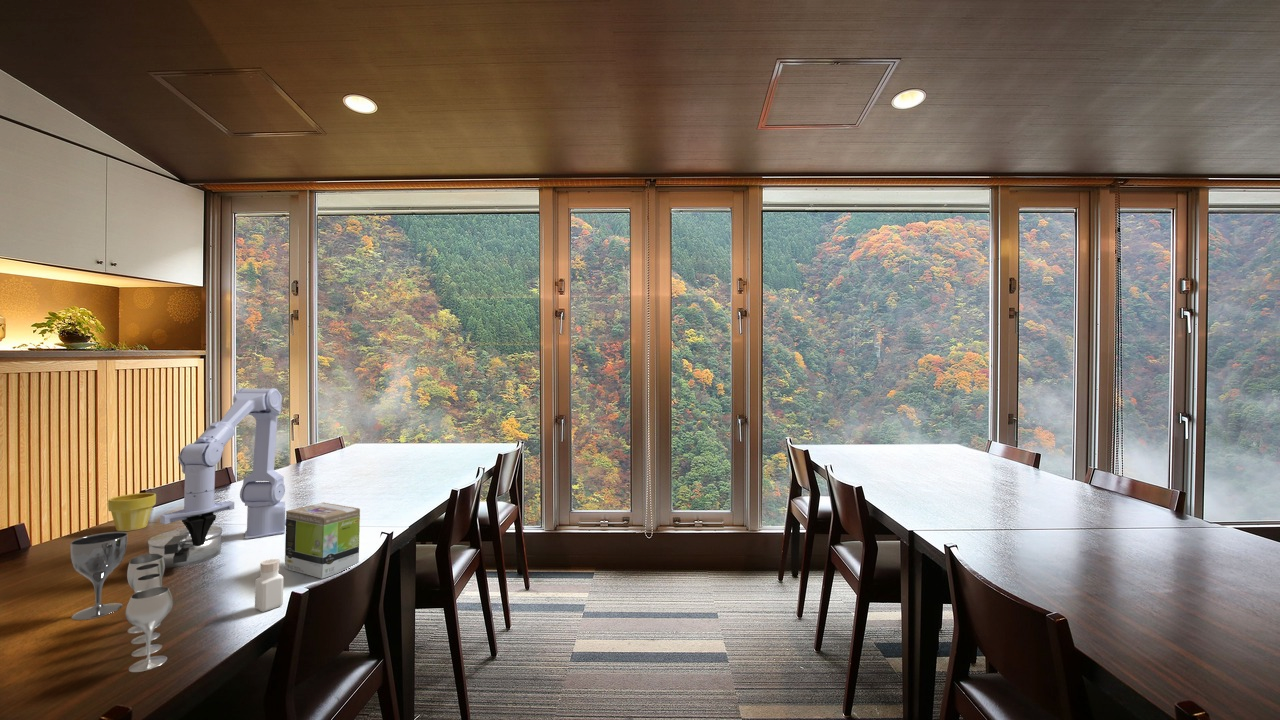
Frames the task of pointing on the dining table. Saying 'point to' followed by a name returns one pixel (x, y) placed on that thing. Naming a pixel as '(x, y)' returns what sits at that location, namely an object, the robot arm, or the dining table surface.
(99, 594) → the wine glass
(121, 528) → the plant pot
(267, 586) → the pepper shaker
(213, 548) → the cooker pot
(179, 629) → the dining table surface
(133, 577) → the goblet set
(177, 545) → the cooker lid
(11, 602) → the dining table surface
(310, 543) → the tea box
